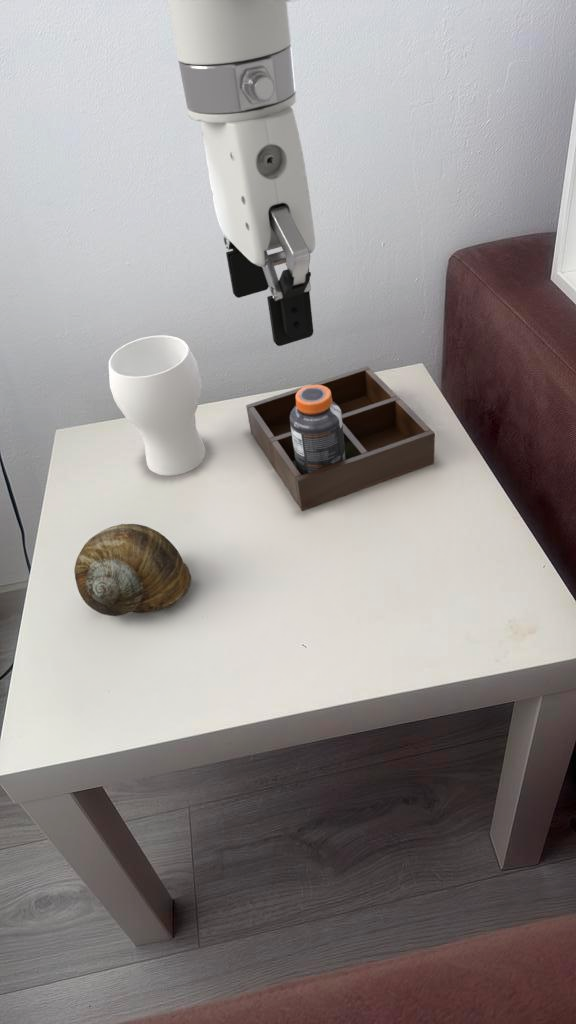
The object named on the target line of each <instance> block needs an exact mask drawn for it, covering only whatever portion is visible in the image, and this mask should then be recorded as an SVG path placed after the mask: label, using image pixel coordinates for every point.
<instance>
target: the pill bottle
mask: <svg viewBox="0 0 576 1024" xmlns="http://www.w3.org/2000/svg"><path fill="white" fill-rule="evenodd" d="M308 385H309V386H307V385H305V386H306V387H304V386H302V387H303V388H301V387H300V388H301V389H300V390H299V391H298V392H297V393H296V406H295V407H294V408H293V410H292V411H291V414H290V424H291V433H292V439H293V446H294V453H295V460H296V467H297V470H298V471H299V472H300V474H301V475H304V474H307V473H310V472H313V471H316V470H318V469H321V468H324V467H327V466H330V465H333V464H336V463H338V462H341V461H344V460H346V458H345V447H344V434H343V423H342V413H341V410H340V408H339V406H338V405H337V404H336V403H334V402H333V401H332V395H331V391H330V389H329V388H327V387H325V386H322V385H310V384H308Z"/></svg>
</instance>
